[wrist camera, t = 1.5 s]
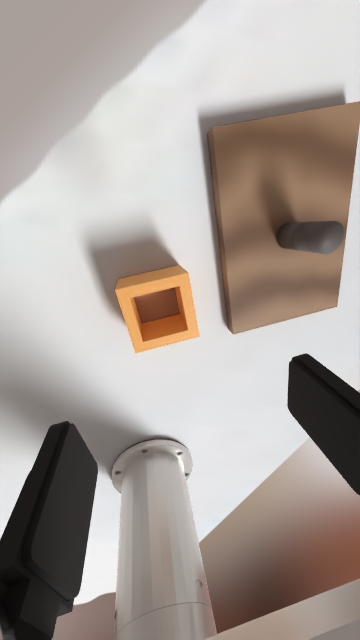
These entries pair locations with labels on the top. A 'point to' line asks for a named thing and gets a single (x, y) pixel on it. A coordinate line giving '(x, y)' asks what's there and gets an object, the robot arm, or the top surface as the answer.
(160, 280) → the orange square ring
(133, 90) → the top surface
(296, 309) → the board
